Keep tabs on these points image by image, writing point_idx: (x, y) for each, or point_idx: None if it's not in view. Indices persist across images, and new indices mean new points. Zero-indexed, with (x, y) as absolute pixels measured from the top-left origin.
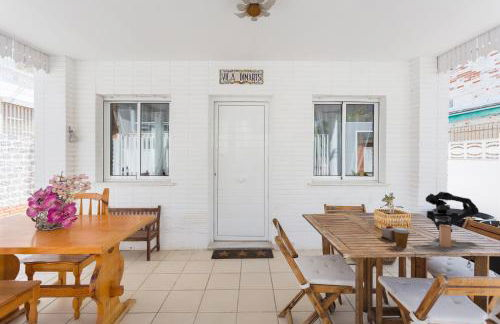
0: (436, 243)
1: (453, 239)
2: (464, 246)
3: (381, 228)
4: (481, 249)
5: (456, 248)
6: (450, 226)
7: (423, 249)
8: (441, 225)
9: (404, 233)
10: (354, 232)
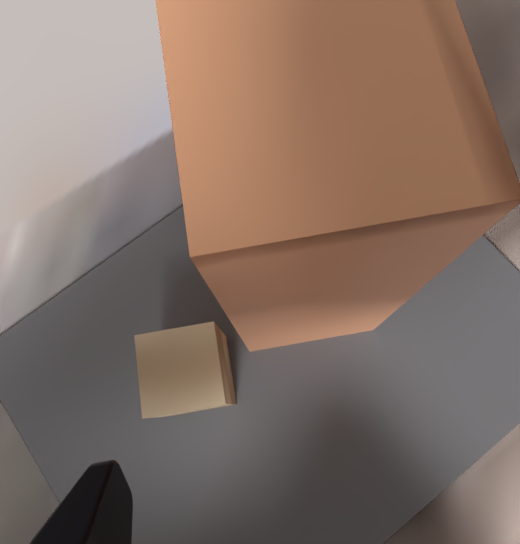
0: (415, 362)
1: (169, 395)
2: (50, 418)
3: None
4: None
5: (165, 233)
6: (160, 35)
7: (508, 11)
8: (431, 34)
9: None
10: None
